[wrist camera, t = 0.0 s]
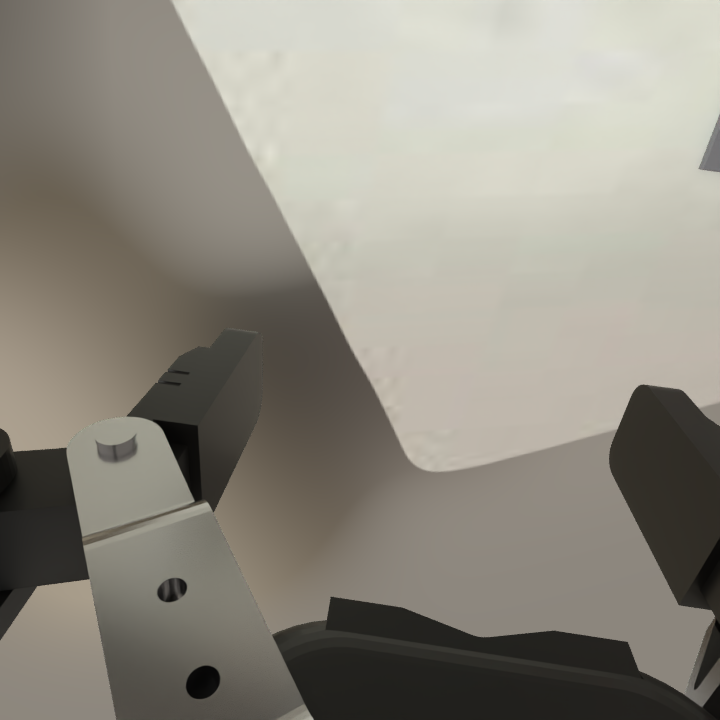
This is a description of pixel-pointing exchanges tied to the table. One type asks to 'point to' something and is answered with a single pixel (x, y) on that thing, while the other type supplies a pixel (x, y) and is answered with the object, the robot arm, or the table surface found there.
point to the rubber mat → (712, 151)
